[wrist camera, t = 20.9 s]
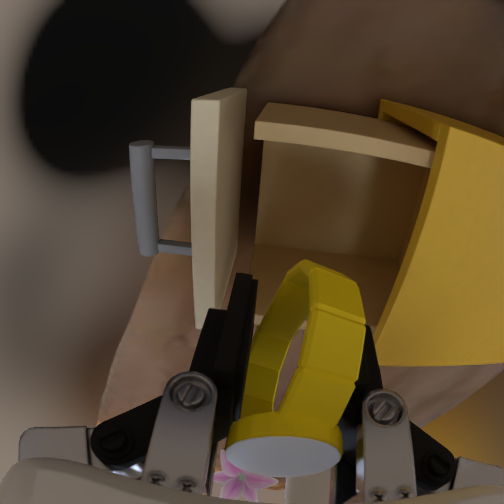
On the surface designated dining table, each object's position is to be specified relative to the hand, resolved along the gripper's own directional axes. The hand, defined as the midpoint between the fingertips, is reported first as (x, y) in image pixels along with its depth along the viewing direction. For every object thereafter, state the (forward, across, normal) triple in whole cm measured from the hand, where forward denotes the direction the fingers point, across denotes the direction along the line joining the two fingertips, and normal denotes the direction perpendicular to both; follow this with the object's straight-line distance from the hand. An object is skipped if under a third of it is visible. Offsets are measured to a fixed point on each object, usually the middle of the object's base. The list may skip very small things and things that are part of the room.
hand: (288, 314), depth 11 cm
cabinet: (+14, -14, 0) cm, 20 cm away
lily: (+14, 0, +53) cm, 55 cm away
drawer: (+13, 0, 0) cm, 13 cm away
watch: (+1, 0, 0) cm, 1 cm away
